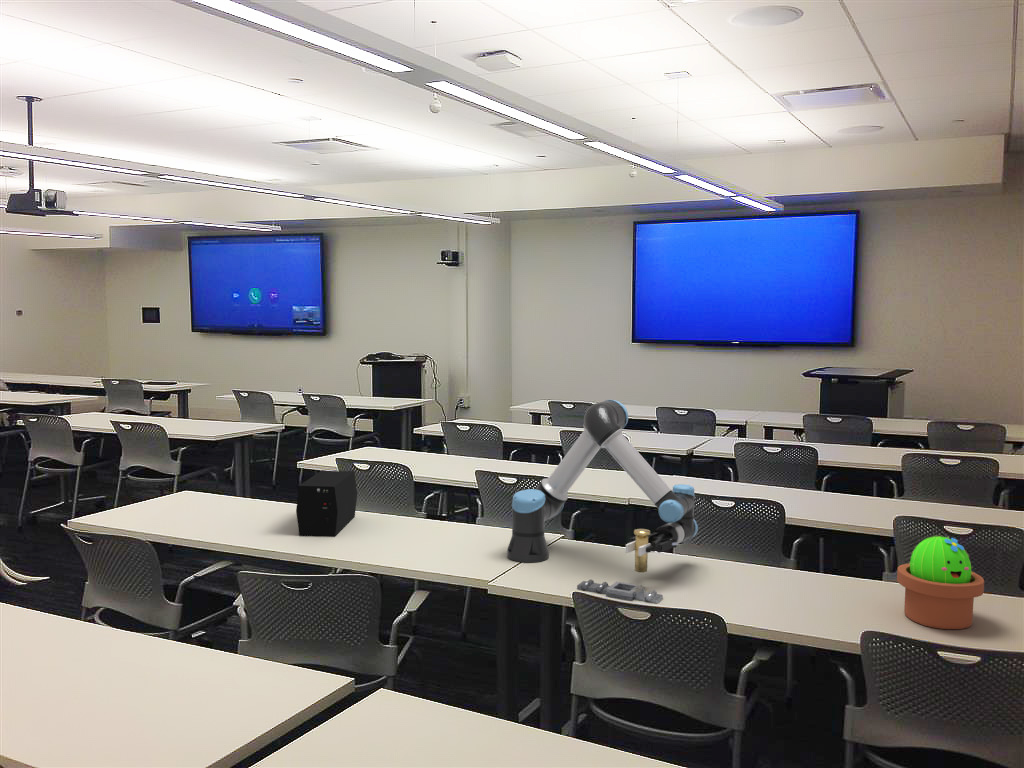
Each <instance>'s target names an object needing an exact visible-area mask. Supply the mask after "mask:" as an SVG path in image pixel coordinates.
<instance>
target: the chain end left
mask: <svg viewBox="0 0 1024 768" xmlns="http://www.w3.org/2000/svg"><path fill="white" fill-rule="evenodd" d="M610 586H611V585H609V583H608V582H606V581H603V582H602V583H597V582H595V581H594V580H593V579H592V578H591V579H589V580H587V581H585V580H583V581H581V582H580V583H578V584H577V585H576V587H577V588H576V589H577V590H581V591H583V592H584V591H586V592H592V593H597V594H603V595H606V597H607V598H608V597H609V598H613V597H615V598H614V599H620V600H625V601H631V602H633V601H634V600H635V599H634V596H633V597H629V596H623V595H617V594H612V593H606V589H607V588H608V587H610ZM617 589H620V590H626V591H630V590H631V589H628V588H622V587H619V588H617Z"/></svg>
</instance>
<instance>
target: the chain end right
mask: <svg viewBox="0 0 1024 768" xmlns="http://www.w3.org/2000/svg"><path fill="white" fill-rule="evenodd" d="M609 586H610V587H608V588H607V589H606V593H612V594H617V595H623V596H629V597H633V596H634V600H637V601H641V602H646V603H652V604H659V603H660V602H661V601H662V600H663V599H664V595H663V594H660V593H658V592H657V591H656V590H651V591H650V592H648V591H645V587H643V585H640V584H635V583H630V582H622V581H618V580H617V581H615V582H613V583H612V584H611V585H609ZM619 587H622V588H628V589H631V590H630V591H626V590H620V589H617V588H619Z"/></svg>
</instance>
